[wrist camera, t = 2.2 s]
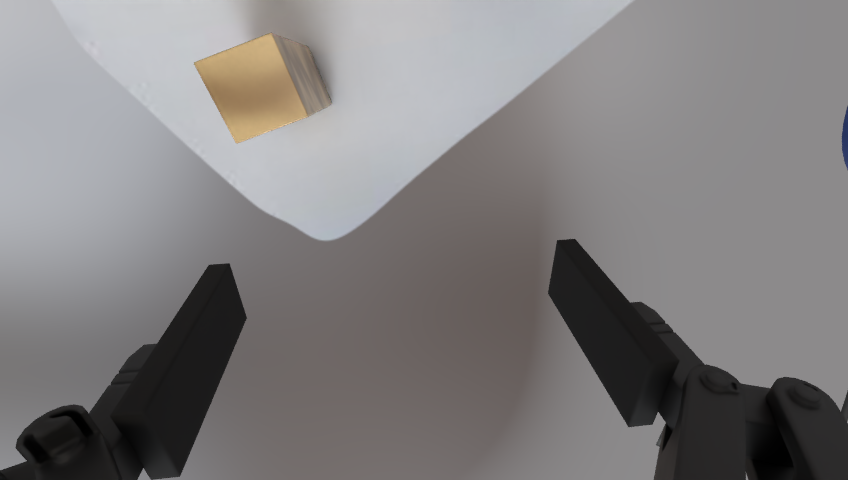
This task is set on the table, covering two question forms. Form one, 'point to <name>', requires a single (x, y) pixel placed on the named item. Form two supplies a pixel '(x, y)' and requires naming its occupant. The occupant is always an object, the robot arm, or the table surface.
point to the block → (263, 85)
